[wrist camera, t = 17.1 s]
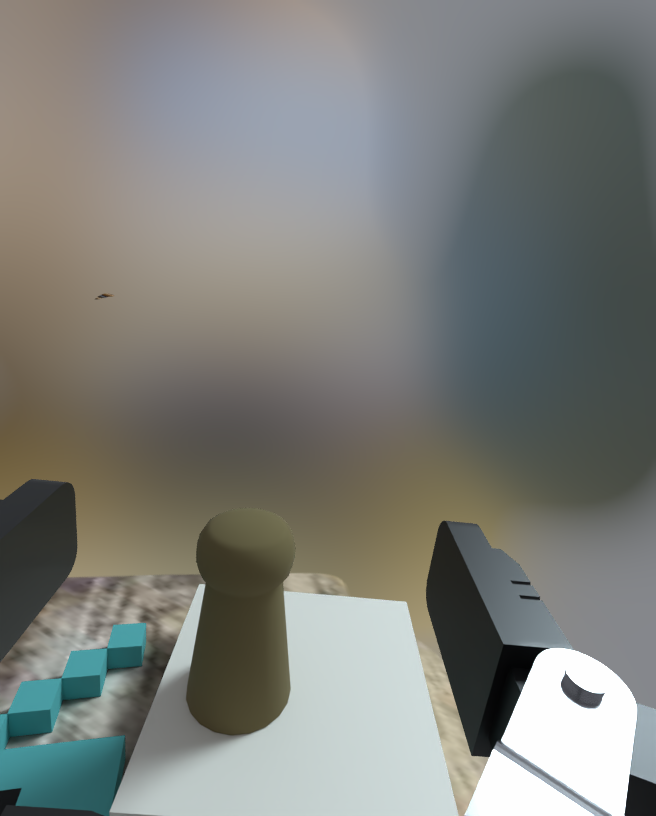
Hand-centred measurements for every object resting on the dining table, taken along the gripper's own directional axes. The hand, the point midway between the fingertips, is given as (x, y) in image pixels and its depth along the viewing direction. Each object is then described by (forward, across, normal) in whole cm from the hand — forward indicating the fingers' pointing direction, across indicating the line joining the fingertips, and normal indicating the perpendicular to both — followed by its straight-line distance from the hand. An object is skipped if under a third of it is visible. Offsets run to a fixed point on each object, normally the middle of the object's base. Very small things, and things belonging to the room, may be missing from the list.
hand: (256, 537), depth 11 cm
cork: (+13, +1, +19) cm, 23 cm away
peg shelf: (+14, -2, +23) cm, 26 cm away
